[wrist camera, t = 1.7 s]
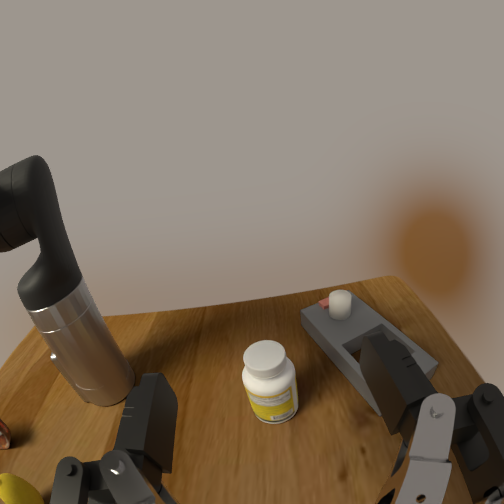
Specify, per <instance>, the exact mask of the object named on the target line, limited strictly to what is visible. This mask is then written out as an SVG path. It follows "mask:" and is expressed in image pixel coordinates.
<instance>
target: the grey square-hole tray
mask: <svg viewBox="0 0 504 504" xmlns="http://www.w3.org/2000/svg"><path fill="white" fill-rule="evenodd" d="M318 302H319V303H317V304H314V305H312V306H309V307H307V308H304V309H302V310H300V315H301V325H302V326H303V328H304V329H305V330H306V331H307V332H308V333H309V335H310V336H311V337H312V338H313V339H314V341H315V342H316V343H317V344H318V345H319V346H320V348H321V349H322V350H323V351H324V352H325V353H326V355H327V356H328V357H329V358H330V359H331V360H332V362H333V363H334V364H335V365H336V366H337V367H338V369H339V370H340V371H341V372H342V373H343V374H344V376H345V377H346V378H347V379H348V380H349V381H350V383H351V384H352V385H353V386H354V387H355V388H356V390H357V391H358V392H359V393H360V394H361V395H362V397H363V398H364V399H365V400H366V401H367V402H368V403H369V405H370V406H371V407H372V408H373V409H374V410H375V412H376V413H377V414H378V415H379V416H382V414H381V412H380V410H379V408H378V406H377V404H376V402H375V400H374V398H373V396H372V394H371V392H370V389H369V387H368V385H367V383H366V381H365V379H364V377H363V375H362V373H361V370H360V364H359V363H358V362H357V361H356V360H355V359H354V358H353V357H352V356H351V354H352V353H354V352H356V351H358V350H360V349H361V347H362V339H363V337H364V336H366V335H369V334H372V333H376V332H379V331H382V332H383V333H384V334H385V335H386V337H387V338H388V340H389V341H392V340H394V339H395V340H397V341H398V342H400V343H401V344H403V345H405V346H406V348H407V349H408V351H409V352H410V353H411V356H412V357H413V358H414V359H415V361H416V362H417V364H418V365H419V366H420V368H421V369H422V371H423V372H424V374H425V375H426V377H427V378H428V380H430V379H431V378H432V376H433V374H434V372H435V370H436V368H437V365H438V362H437V361H436V360H435V359H434V358H432V357H431V356H430V355H429V354H428V353H426V352H425V351H424V350H423V349H422V348H420V347H419V346H418V345H417V344H415V343H414V342H413V341H412V340H411V339H409V338H408V337H407V336H406V335H404V334H403V333H402V332H401V331H399V330H398V329H397V328H396V327H395V326H393V325H392V324H391V323H390V322H388V321H387V320H386V319H385V318H383V317H382V316H381V315H379V314H378V313H377V312H376V311H374V310H373V309H372V308H371V307H369V306H368V305H367V304H366V303H364V302H363V301H362V300H360V299H359V298H358V297H357V296H355V295H354V294H353V293H351V292H350V291H349V290H347V291H346V290H335V291H333V292H331V293H330V295H329V297H328V298H325V299H323V300H321V301H318Z"/></svg>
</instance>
